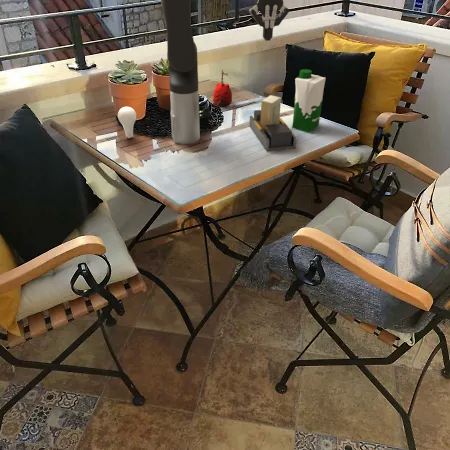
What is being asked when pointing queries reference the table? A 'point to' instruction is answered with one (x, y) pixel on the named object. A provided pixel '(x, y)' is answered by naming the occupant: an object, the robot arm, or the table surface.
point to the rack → (272, 134)
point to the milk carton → (308, 101)
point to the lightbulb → (127, 120)
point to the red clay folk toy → (222, 94)
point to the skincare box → (270, 111)
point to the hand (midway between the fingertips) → (267, 40)
